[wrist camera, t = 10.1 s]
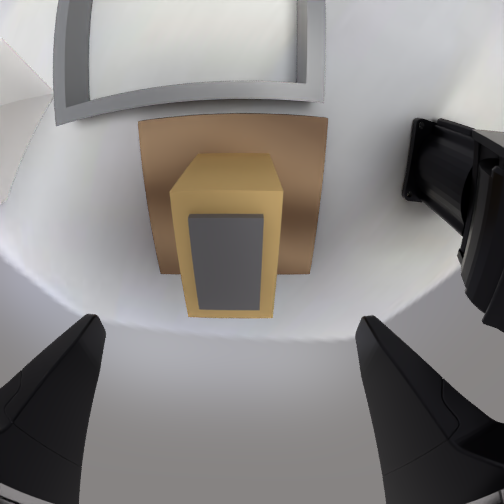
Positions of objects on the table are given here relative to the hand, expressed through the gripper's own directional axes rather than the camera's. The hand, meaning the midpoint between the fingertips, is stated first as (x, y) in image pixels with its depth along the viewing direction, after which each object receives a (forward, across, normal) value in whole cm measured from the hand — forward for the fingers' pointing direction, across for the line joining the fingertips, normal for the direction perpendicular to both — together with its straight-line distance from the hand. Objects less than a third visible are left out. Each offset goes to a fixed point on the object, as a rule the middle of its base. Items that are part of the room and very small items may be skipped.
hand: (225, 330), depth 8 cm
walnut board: (+12, 0, 0) cm, 12 cm away
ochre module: (+11, 0, 0) cm, 11 cm away
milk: (+12, +22, -10) cm, 27 cm away
